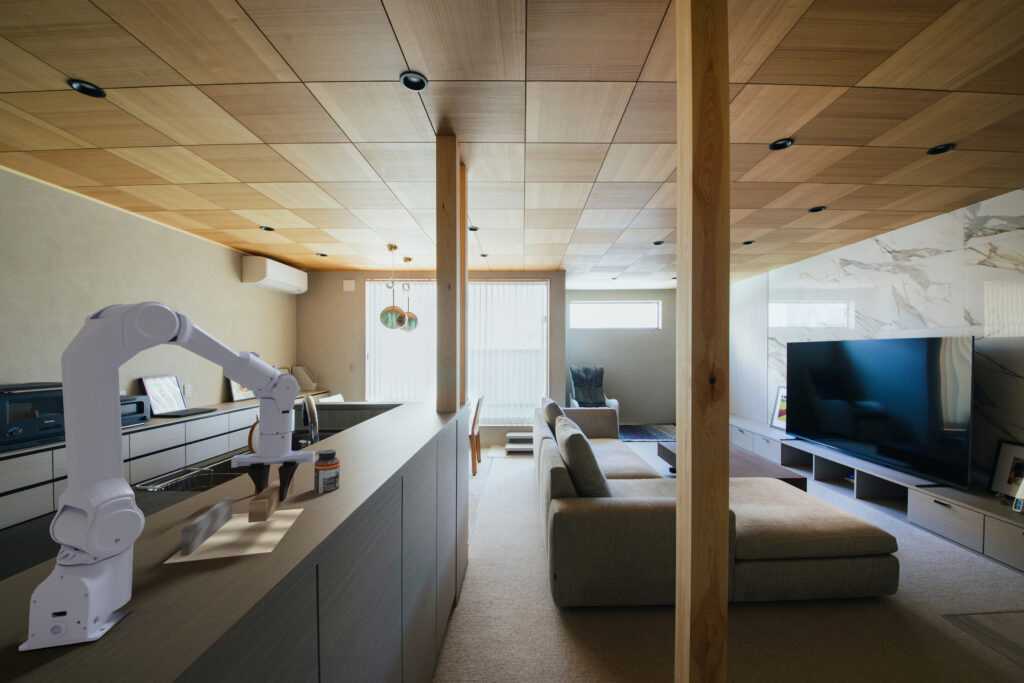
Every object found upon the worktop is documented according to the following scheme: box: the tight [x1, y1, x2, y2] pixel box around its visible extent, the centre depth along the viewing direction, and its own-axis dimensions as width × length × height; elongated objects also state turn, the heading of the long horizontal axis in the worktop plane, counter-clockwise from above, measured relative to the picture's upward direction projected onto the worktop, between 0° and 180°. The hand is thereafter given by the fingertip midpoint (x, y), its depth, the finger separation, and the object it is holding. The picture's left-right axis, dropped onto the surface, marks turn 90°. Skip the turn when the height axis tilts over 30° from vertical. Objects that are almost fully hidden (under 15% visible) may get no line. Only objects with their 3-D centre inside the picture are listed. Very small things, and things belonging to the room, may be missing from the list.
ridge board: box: [163, 496, 304, 565], centre depth 75 cm, size 20×16×6 cm
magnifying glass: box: [247, 419, 259, 496], centre depth 97 cm, size 9×2×20 cm, turn 5°
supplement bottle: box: [313, 449, 340, 494], centre depth 100 cm, size 6×6×11 cm
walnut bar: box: [248, 474, 295, 523], centre depth 77 cm, size 16×3×4 cm, turn 14°
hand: (273, 500), depth 77 cm, fingers closed on walnut bar, 3 cm apart
